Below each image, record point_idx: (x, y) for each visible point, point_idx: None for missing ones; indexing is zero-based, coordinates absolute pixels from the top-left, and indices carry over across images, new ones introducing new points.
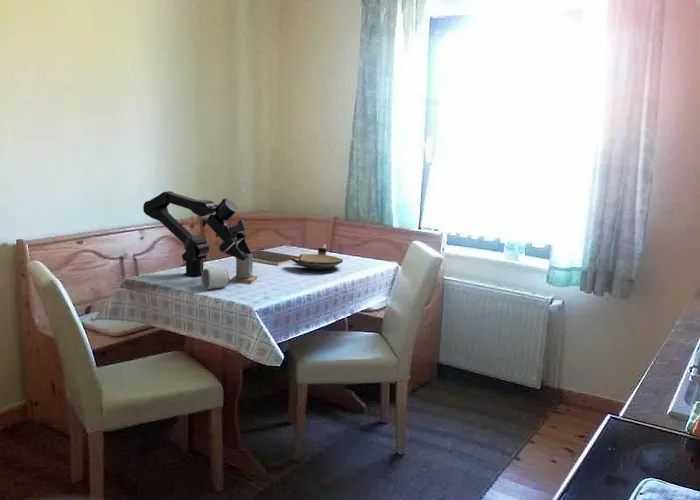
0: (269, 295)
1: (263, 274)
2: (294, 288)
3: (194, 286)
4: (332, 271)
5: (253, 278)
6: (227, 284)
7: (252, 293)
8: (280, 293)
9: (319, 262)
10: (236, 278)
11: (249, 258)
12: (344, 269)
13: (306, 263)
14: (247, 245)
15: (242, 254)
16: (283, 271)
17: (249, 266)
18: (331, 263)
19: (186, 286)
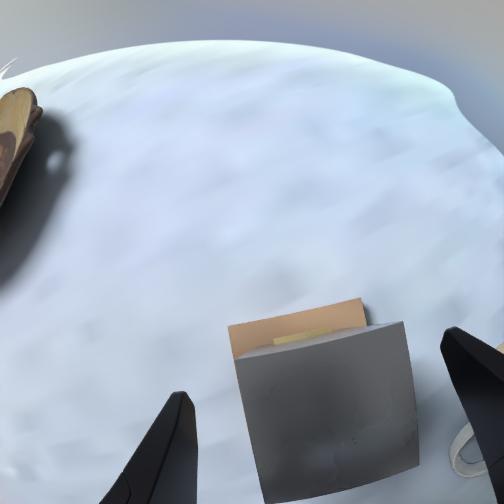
0: (467, 137)
1: (114, 336)
2: (323, 90)
3: None
4: None
5: (310, 310)
6: (502, 343)
7: (490, 202)
8: (422, 111)
9: (33, 104)
10: None
11: (372, 328)
12: None
13: (33, 140)
14: (117, 492)
15: (486, 358)
16: (36, 268)
17: (347, 330)
18: (30, 89)
19: None
